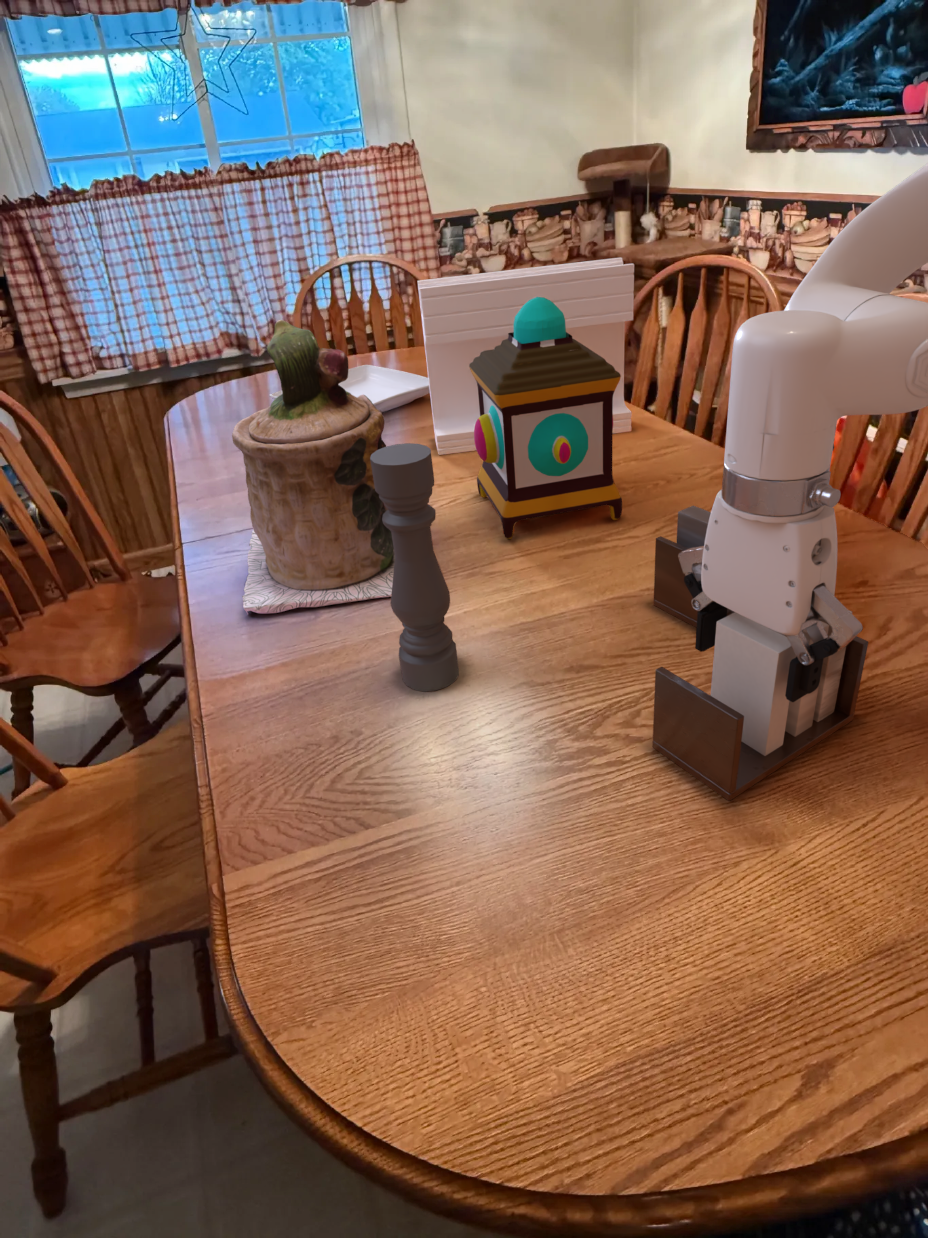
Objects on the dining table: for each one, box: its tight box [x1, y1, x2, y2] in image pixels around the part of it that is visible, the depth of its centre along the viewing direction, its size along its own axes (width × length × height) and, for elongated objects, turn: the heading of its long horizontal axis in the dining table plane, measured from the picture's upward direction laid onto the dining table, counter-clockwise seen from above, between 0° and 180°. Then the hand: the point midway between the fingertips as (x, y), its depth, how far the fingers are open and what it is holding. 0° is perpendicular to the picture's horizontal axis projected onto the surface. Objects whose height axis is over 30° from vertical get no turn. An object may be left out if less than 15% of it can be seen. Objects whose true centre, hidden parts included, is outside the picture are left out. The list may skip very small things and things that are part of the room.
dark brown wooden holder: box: [652, 505, 734, 628], centre depth 94 cm, size 17×9×12 cm, turn 124°
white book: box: [709, 612, 796, 756], centre depth 72 cm, size 2×6×11 cm, turn 34°
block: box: [417, 257, 635, 456], centre depth 143 cm, size 35×8×28 cm, turn 96°
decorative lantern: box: [469, 297, 623, 540], centre depth 115 cm, size 20×20×30 cm
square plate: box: [268, 364, 430, 414], centre depth 177 cm, size 27×27×4 cm
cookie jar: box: [231, 319, 395, 615], centre depth 105 cm, size 25×25×32 cm
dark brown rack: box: [651, 609, 869, 802], centre depth 73 cm, size 17×9×12 cm, turn 124°
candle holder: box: [370, 442, 460, 692], centre depth 82 cm, size 6×6×25 cm
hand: (753, 668), depth 71 cm, fingers open, 9 cm apart
